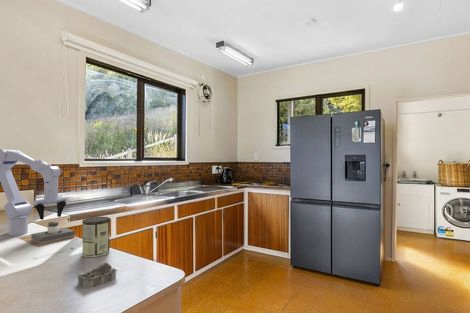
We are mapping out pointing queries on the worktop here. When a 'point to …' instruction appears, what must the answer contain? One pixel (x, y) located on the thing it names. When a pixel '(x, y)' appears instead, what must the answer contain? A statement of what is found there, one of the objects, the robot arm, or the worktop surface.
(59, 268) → the worktop surface
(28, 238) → the board
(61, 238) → the grey square frame plate
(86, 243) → the coffee can
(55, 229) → the cylinder
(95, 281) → the egg carton
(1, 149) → the robot arm
